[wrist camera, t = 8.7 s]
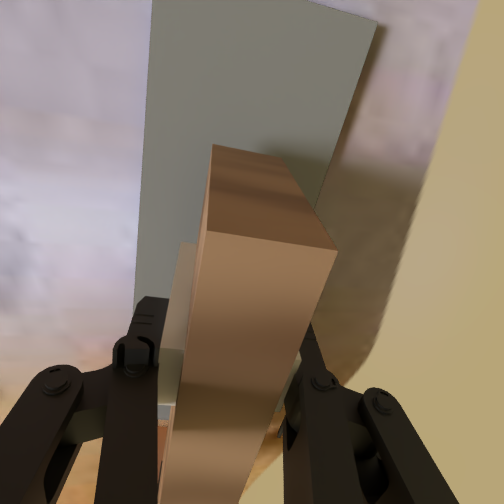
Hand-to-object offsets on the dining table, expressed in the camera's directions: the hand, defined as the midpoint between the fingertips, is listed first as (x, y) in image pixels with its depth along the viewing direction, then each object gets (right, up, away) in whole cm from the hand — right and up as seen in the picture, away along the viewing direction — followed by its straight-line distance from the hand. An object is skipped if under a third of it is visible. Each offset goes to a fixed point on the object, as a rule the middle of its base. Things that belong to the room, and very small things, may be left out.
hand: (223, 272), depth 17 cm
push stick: (-1, -4, +3) cm, 5 cm away
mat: (-1, 0, +4) cm, 4 cm away
